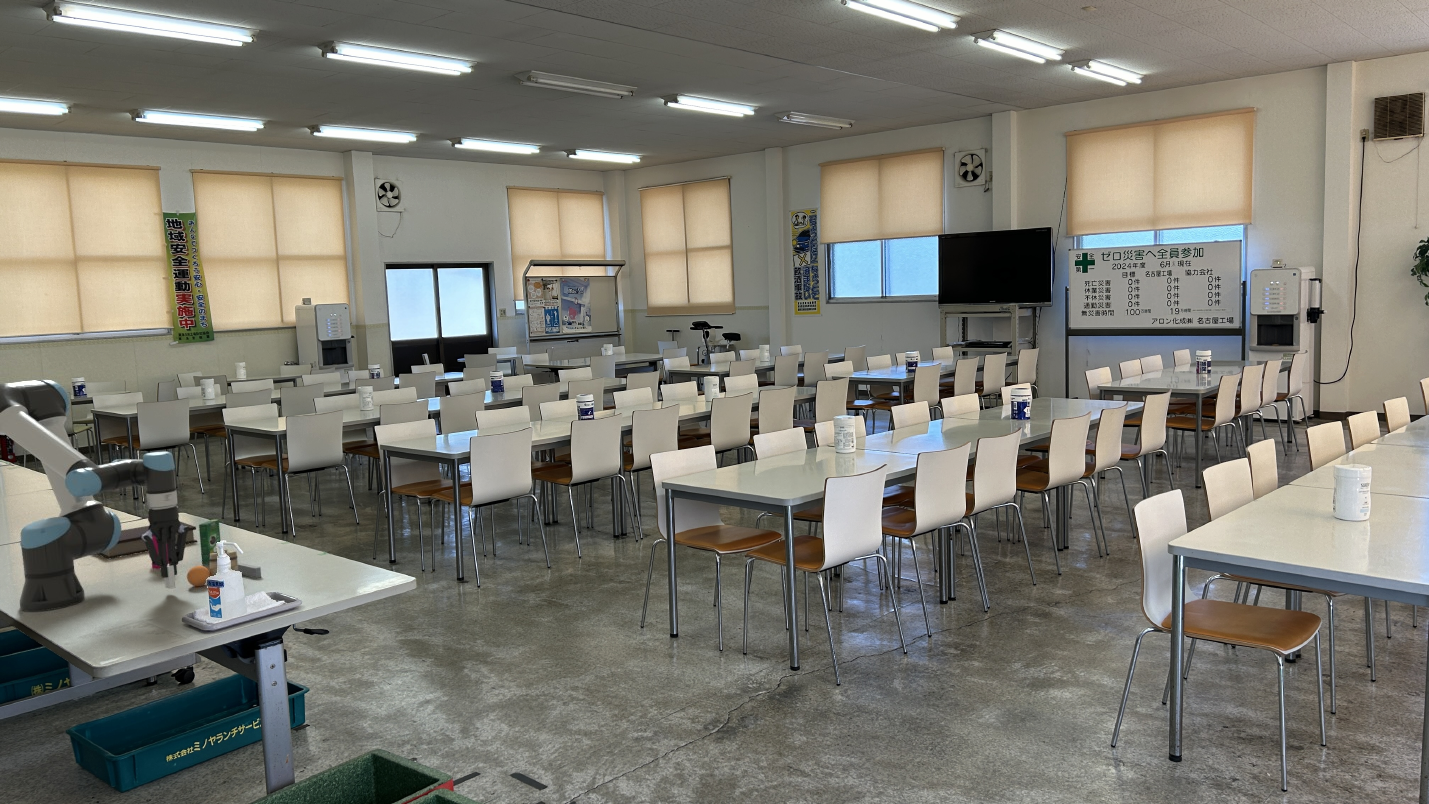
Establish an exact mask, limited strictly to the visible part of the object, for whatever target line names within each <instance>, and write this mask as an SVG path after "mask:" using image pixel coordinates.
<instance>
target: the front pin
mask: <svg viewBox="0 0 1429 804" xmlns="http://www.w3.org/2000/svg"><path fill="white" fill-rule="evenodd" d="M217 556H218V553H212V554H210V564H209V572H210V576H214V575H216V573H217Z"/></svg>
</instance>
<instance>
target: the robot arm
mask: <svg viewBox="0 0 1429 804" xmlns="http://www.w3.org/2000/svg"><path fill="white" fill-rule="evenodd" d="M70 402H71V401H70V398H69V394H68V392H67V391H66V389H65V388H64V387H63V386H62V385H61V384H59V383H58V382H56V381H54V380H49V379H33V380H26V381H17V382H16V381H15V382H6V383H5V382H3V383H0V435H1V436H5V435H6V436H7V437H9V438H10V439H11V440H12V441H14V443H16V444H18V445H19V446H20V447H22V448H23V449H24V450H26V451H28V453H30V454H31V455H32V456H34V457H35V458H37V459H38V460H40V463H41V465H42V467H43V470H44V472H45V475H46V477H47V479H48V482H49V485H50V487H51V489H52V492H53V494H54V497H55V499H56V501H57V504H58V506H59V509H60V513H59V515H58V516H53V517H49V518H43V519H39V520H37V521H33V522H31V523H29V524H26V525H25V526H24V527H23V528H22V529H21V531H20V542H19V543H20V544H19V545H20V547H21V556H22V565H23V573H24V575H23V576H24V584H23V586H22V591H21V594H20V599H19V609H20V610H21V611H22V612H23V611H25V612H41V611H50V610H57V609H61V608H62V609H63V608H66V607H69V606H73V605H75V604H79V603H81V602H82V601H84V600H85V598H86V597H85V590H84V587H83V586H82V584H81V582H80V580H79V579H78V576H77V574H76V572H75V570H76V569H75V560H76V561H77V560H78V559H79V560H80V559H82V558H85V557H89V556H92V555H95V554H97V555H98V553H101V552H103V551H105V550H108V549H111V548H112V547H114V546H115V545H116V544H117V542H118V541H119V537H120V536H121V530H122V524H121V520H120V518H119V516H118V515H117V513H115V512H113V511H112V510H109V509H108V510H107V509H105V507H104V503H102V502H100V501H97V500H95V499H94V496H95V495H98V494H101V493H103V494H104V493H106V492H110V491H115V490H119V489H125V488H129V487H135V486H137V487H145V493H146V494H145V495H146V505H147V508H148V510H147V518H148V517H149V521H148V523H149V525H148V526H149V528H148V530H149V531H147V532H146V533H145V534H142V535H141V536H140V538H141V539H142V540H143V541H144V542H145V545H146V547H147V550H148V555H150V556H149V558H150V561H151V564H152V563H153V565H156V566H160V568H161V569H160V574H161V575H160V576H161V578H162V579H163V578H164V587H165V589H170V590H171V589H175V588H176V576H177V575H178V567H177V566H178V565H179V563H180V562H182V561H183V560H184V554H185V549H186V544H185V542H186V536H187V533H188V531H189V529H190V528H189V527H187V526H183V525H181V523H180V522H181V521H180V518H179V517H180V515H179V514H180V512H179V506H178V505H177V504H178V493H177V481H176V471H175V470H176V469H175V468H176V465H175V460H174V457H173V456H174V455H173V454H172V452H170V451H154V452H148V453H145V454H144V455H143V456H142V459H133V458H131V459H130V458H122V459H115V460H113V461H111V462H109V463H105V464H99V465H97V464H96V463H94V462H93V461H92V460H91V459H89V458H88V457H87V456H85V455H83V454H82V453H81V452H80V451H78V450H77V449H75V448H74V447H73V445H72V443H71V440H70V438H69V435H68V433H67V431H66V428H65V423H66V422H67V421H66V420H67V419H68V417H67V415H66V414H67V413H69V410H70V406H69V405H70V404H71V403H70ZM177 531H179V533H178V538H177V545H176V546H175V541H176V536H175V535H176V533H177ZM152 535H153V536H154V537H155V538H156V542H157V545H158V553H157V550H156V548H155V545H154V542H153V540H152ZM166 542H167V549H166ZM167 552H168V560H167ZM168 562H169V564H168Z"/></svg>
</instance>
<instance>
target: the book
mask: <svg viewBox="0 0 1429 804" xmlns="http://www.w3.org/2000/svg"><path fill="white" fill-rule="evenodd" d="M180 523H181V525H183V526H187V527H189V528H190V529H189V531H188V533H187V536H186V542H185V545H188V544H189V543H190V544H195V543H198V540H197V539H195V538H194V536H195V535H194V531H195V530H197V526H194V525H191V524H189V523H186V522H184V521H180ZM148 528H149V525H144V526H141V527H135V528H133V527H132V528H128V529H123V530H122V529H121V536H120V537H119V541H118V542H117V544H116V545H115V546H114V547H112V548H111V549H108V550H105V551H103V552H101V553H98V554H99V555H98V554H97V555H98V556H100V555H101V557H102V556H103V558H105V559H107V560H110V559H109V558H111V559H116V558H120V556H122V557H125V556H126V555H127V556H132V555H136V554H135V553H137V554H141V553H140V552H142V553H146V552H145V551H148V550H147V547H146V545H145V542H144V541H143V540H142V539H141V538H140V536H141V535H142V534H145V533H146V532H147V531H149V530H148ZM178 533H179V531H177V533H176V535H175V536H176V541H175V546H176V545H177V538H178ZM152 540H153V535H152ZM131 554H132V555H131ZM115 557H116V558H115Z"/></svg>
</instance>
